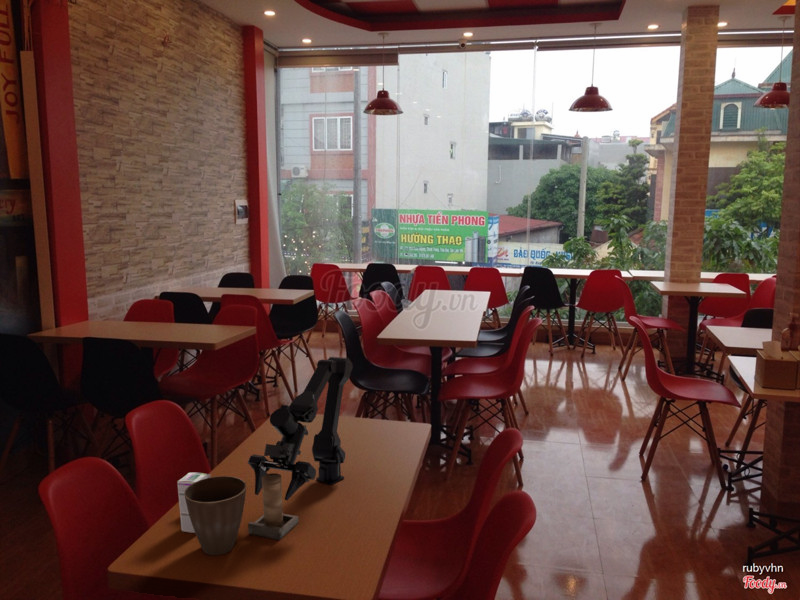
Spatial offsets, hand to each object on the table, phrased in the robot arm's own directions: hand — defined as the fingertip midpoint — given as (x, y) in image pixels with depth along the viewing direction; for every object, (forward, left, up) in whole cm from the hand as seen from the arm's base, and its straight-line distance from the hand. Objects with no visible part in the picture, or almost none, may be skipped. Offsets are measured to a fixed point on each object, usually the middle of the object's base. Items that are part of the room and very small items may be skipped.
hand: (270, 497), depth 166 cm
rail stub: (-1, 0, -9) cm, 9 cm away
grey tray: (-1, 0, -9) cm, 9 cm away
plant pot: (+14, -3, -9) cm, 17 cm away
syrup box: (+12, -17, -9) cm, 23 cm away
